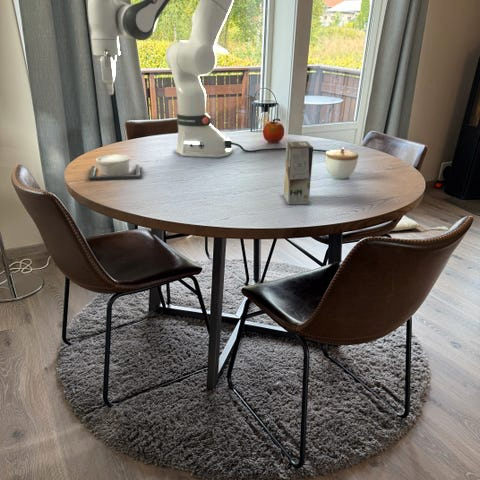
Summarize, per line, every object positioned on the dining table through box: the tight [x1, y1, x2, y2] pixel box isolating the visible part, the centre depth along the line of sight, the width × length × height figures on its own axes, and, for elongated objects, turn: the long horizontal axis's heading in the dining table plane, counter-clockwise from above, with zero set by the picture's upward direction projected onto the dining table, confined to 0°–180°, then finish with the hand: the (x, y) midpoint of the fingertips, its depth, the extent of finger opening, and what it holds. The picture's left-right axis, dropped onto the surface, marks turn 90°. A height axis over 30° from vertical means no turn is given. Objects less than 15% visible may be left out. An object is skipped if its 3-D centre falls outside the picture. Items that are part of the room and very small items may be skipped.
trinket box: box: [325, 147, 359, 180], centre depth 168 cm, size 11×11×9 cm
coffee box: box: [283, 140, 314, 205], centre depth 144 cm, size 9×6×16 cm
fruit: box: [262, 117, 285, 144], centre depth 216 cm, size 10×10×10 cm
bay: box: [88, 164, 141, 182], centre depth 170 cm, size 15×16×1 cm
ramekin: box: [95, 154, 131, 176], centre depth 169 cm, size 11×11×5 cm
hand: (111, 94), depth 173 cm, fingers closed
